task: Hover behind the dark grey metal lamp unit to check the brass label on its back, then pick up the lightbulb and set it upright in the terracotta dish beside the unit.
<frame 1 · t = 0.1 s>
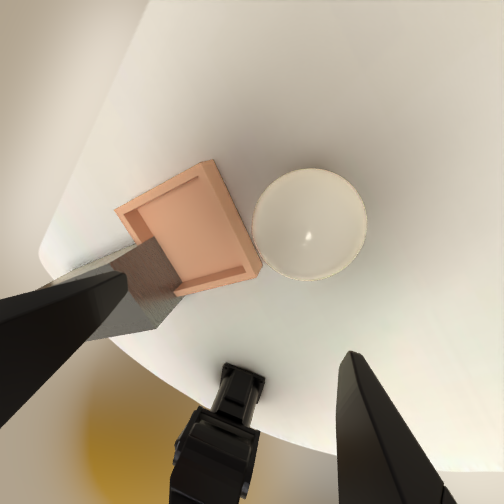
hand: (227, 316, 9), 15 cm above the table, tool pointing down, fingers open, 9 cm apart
lamp unit: (127, 278, 32), on the table
dish: (195, 233, 25), on the table
lightbulb: (312, 194, 20), on the table
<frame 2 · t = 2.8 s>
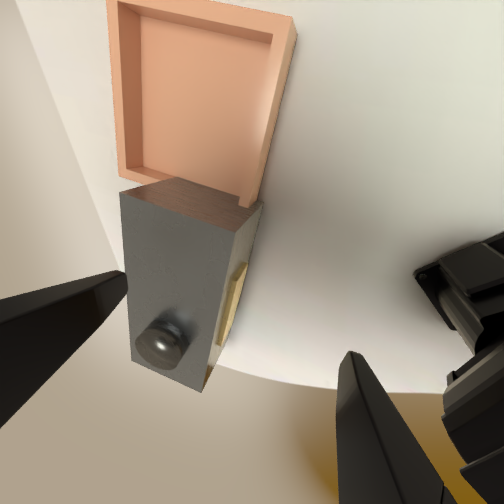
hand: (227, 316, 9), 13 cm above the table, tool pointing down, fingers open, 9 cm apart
lamp unit: (207, 270, 24), on the table
dish: (201, 117, 18), on the table
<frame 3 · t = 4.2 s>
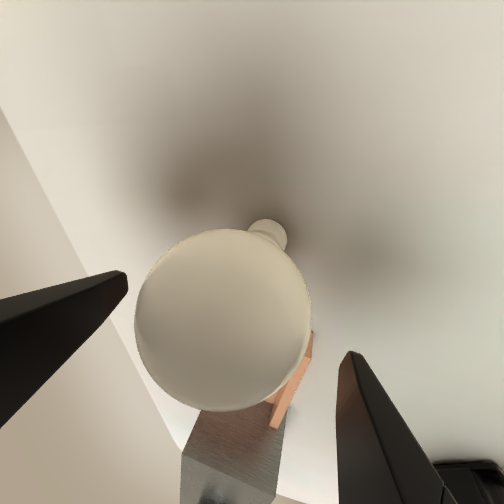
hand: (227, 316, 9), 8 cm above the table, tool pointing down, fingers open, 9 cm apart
lamp unit: (239, 429, 29), on the table
dish: (235, 352, 22), on the table
lightbulb: (269, 233, 16), on the table
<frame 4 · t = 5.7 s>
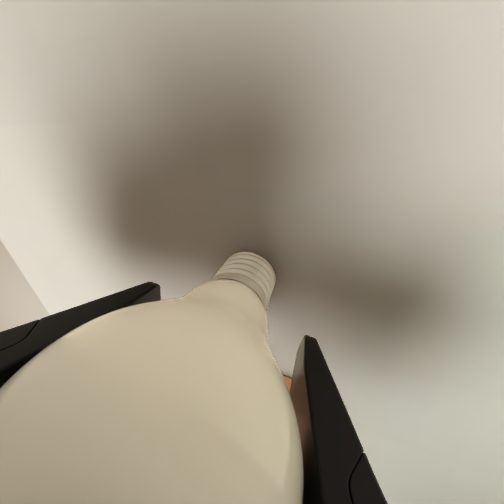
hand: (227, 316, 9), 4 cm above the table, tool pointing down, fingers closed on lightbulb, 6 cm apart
lightbulb: (253, 267, 12), on the table, touching gripper
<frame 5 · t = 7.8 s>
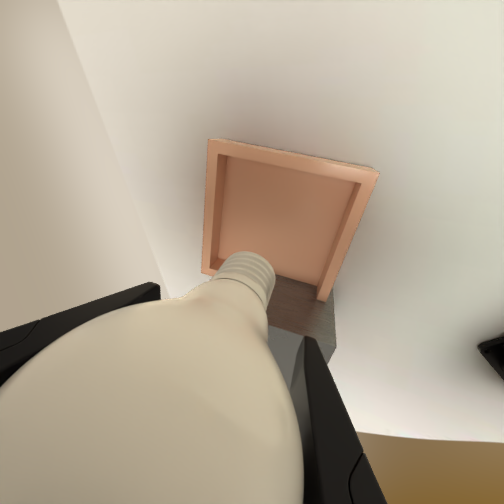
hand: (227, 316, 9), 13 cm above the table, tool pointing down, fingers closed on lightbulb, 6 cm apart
lamp unit: (272, 337, 27), on the table
dish: (277, 222, 20), on the table
lightbulb: (253, 266, 12), point 9 cm above the table, touching gripper
when the fingers open (5 cm above the table, at t = 10.1 s): lightbulb drops 1 cm, resting on dish.
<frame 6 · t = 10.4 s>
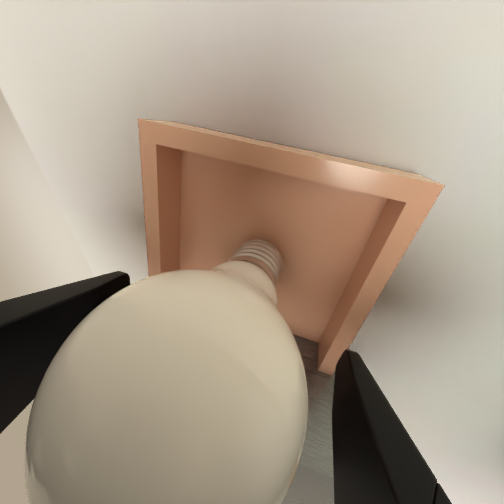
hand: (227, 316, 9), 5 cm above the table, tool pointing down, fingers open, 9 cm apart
lamp unit: (257, 395, 20), on the table
dish: (260, 252, 13), on the table
lightbulb: (262, 254, 13), resting on dish
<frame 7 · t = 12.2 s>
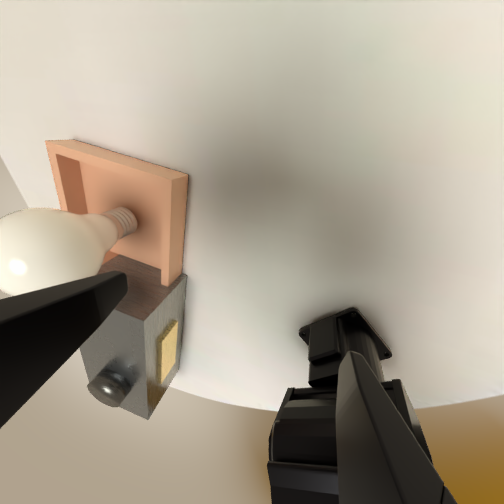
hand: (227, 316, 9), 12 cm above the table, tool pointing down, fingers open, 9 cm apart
lamp unit: (154, 318, 30), on the table
dish: (132, 216, 23), on the table
lightbulb: (131, 217, 23), resting on dish
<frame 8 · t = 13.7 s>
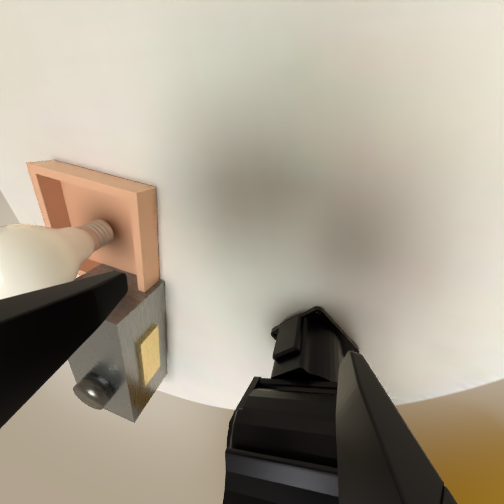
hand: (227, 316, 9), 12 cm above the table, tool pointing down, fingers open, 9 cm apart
lamp unit: (140, 324, 31), on the table
dish: (111, 227, 25), on the table
lightbulb: (109, 228, 24), resting on dish
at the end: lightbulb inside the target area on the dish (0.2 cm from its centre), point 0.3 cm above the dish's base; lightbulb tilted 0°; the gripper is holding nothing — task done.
